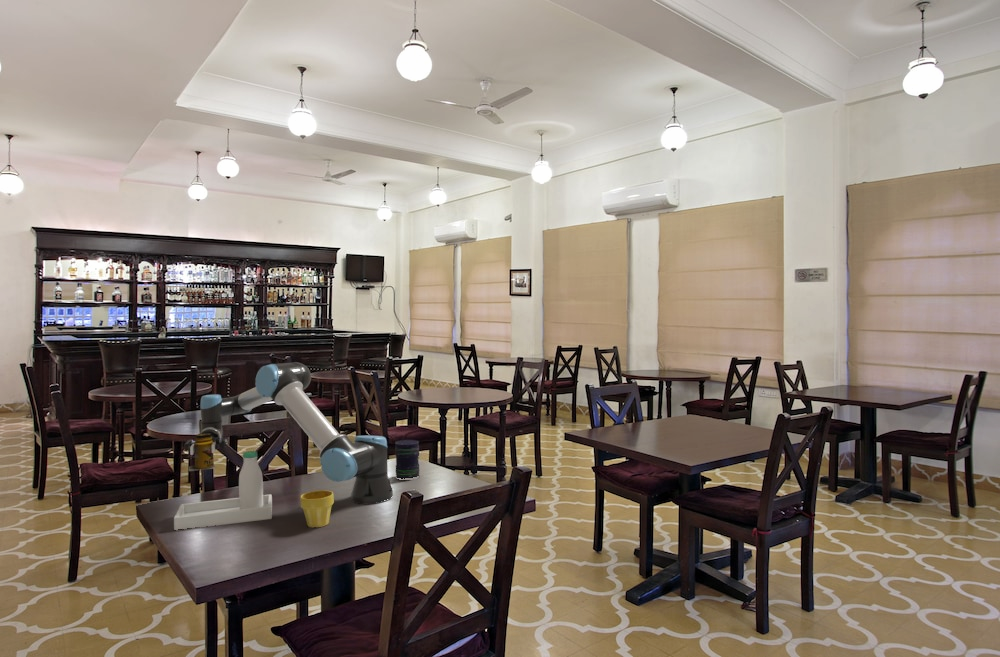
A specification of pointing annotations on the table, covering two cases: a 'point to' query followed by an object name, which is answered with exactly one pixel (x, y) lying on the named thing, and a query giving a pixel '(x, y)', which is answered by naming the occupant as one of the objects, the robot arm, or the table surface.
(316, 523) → the plant pot
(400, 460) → the storage jar
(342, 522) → the table surface
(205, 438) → the condiment
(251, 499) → the milk bottle
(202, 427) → the robot arm
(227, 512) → the tray
